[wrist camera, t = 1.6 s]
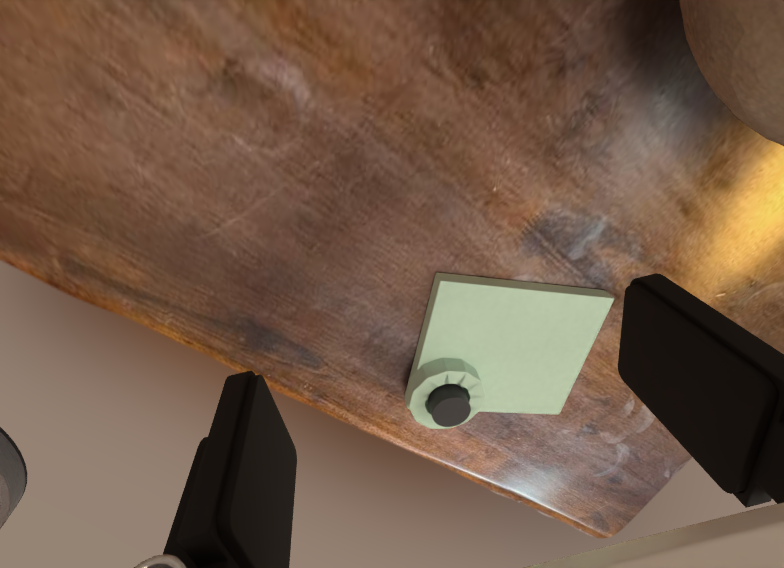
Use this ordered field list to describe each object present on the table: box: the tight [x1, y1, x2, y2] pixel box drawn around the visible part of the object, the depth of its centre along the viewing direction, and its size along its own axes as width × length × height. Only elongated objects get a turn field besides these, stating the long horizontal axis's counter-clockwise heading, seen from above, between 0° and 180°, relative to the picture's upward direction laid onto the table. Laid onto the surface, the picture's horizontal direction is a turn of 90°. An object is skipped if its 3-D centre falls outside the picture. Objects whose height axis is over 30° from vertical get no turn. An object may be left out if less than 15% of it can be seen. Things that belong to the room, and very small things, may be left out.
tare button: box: [428, 384, 471, 427], centre depth 32 cm, size 3×3×2 cm
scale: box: [404, 272, 614, 429], centre depth 34 cm, size 14×12×3 cm
